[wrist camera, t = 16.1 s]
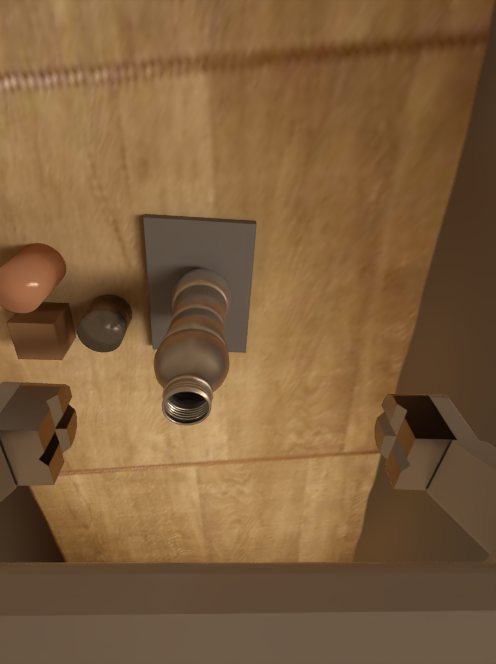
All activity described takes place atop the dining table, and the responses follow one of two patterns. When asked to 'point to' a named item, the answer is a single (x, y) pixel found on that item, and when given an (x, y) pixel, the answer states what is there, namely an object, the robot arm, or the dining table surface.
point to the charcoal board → (199, 266)
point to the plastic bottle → (194, 347)
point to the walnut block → (43, 332)
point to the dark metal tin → (105, 323)
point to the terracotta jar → (30, 277)
